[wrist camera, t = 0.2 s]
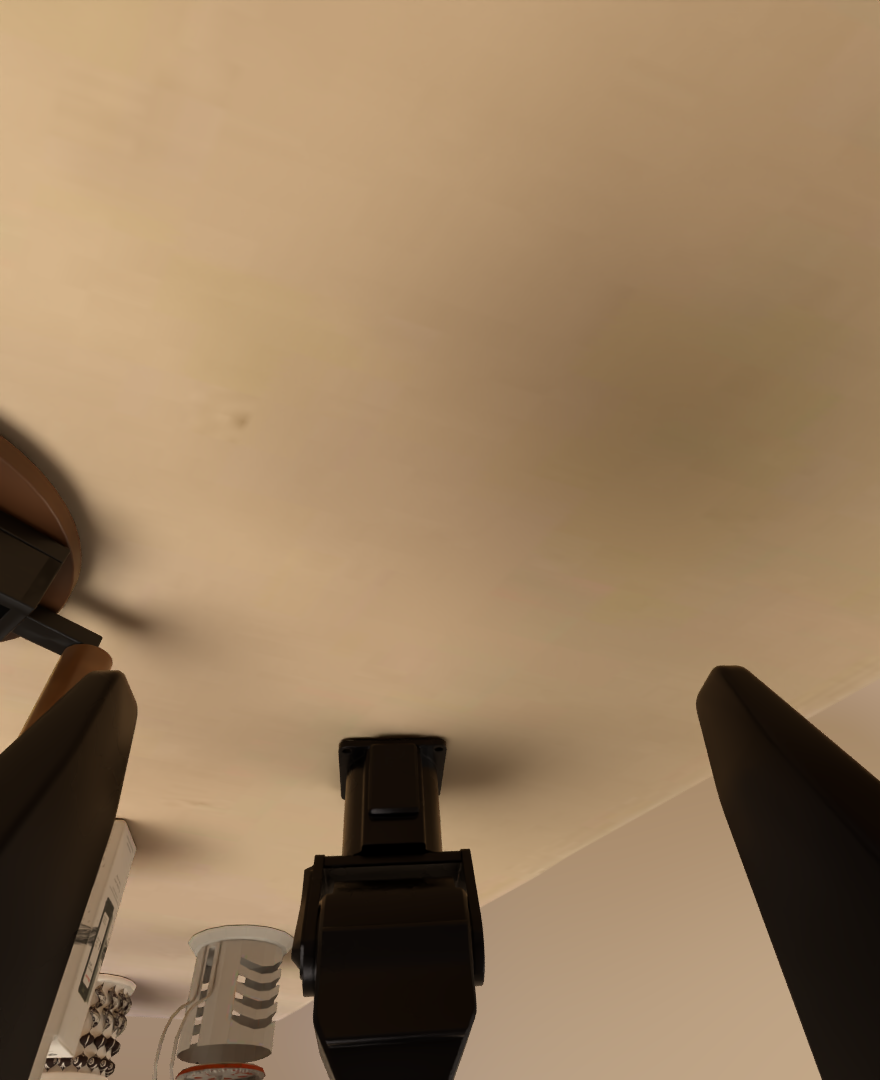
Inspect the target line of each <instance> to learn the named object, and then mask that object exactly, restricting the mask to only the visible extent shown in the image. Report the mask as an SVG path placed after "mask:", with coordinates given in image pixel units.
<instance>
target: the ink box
mask: <svg viewBox="0 0 880 1080" xmlns="http://www.w3.org/2000/svg"><path fill="white" fill-rule="evenodd" d="M135 852H136V846H135V844H134V841H133V839H132V836H131V834H130V831H129V829H128V826H127V824H126V822H125V821H124V820H115V821H114V824H113V828H112V831H111V834H110V837H109V840H108V843H107V846H106V849H105V852H104V855H103V858H102V861H101V864H100V867H99V870H98V873H97V876H96V879H95V882H94V885H93V888H92V891H91V894H90V897H89V900H88V903H87V906H86V909H85V912H84V915H83V918H82V921H81V924H80V927H79V930H78V933H77V936H76V939H75V942H74V945H73V948H72V951H71V954H70V957H69V960H68V963H67V966H66V969H65V972H64V975H63V978H62V981H61V984H60V987H59V990H58V993H57V996H56V999H55V1002H54V1005H53V1008H52V1011H51V1014H50V1017H49V1020H48V1022H47V1025H46V1028H45V1031H44V1034H43V1037H42V1040H41V1043H40V1046H39V1049H38V1052H37V1055H36V1058H35V1061H34V1064H33V1067H32V1070H31V1073H30V1076H29V1079H28V1080H40V1079H41V1075H42V1072H43V1069H44V1065H45V1062H46V1058H64V1057H74V1055H75V1052H76V1049H77V1045H78V1042H79V1039H80V1036H81V1032H82V1029H83V1026H84V1023H85V1019H86V1016H87V1013H88V1009H89V1006H90V1003H91V999H92V996H93V993H94V989H95V986H96V983H97V979H98V976H99V973H100V969H101V966H102V963H103V959H104V956H105V953H106V949H107V946H108V943H109V939H110V936H111V932H112V929H113V926H114V922H115V919H116V916H117V912H118V909H119V905H120V902H121V899H122V895H123V892H124V888H125V885H126V882H127V879H128V875H129V872H130V868H131V865H132V862H133V859H134V855H135Z"/></svg>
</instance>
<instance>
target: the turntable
mask: <svg viewBox="0 0 880 1080" xmlns="http://www.w3.org/2000/svg"><path fill="white" fill-rule="evenodd" d="M0 510H1V511H3V512H5V513H7V514H8V515H10V516H12V517H14V518H15V519H17V520H19V521H21V522H22V523H24V524H26V525H28V526H29V527H31V528H33V529H35V530H36V531H38V532H40V533H42V534H44V535H45V536H47V537H49V538H51V539H52V540H54V541H56V542H58V543H59V544H61V545H63V546H65V547H66V548H68V549H70V550H71V551H70V553H69V555H68V557H67V558H66V560H65V561H64V563H63V564H62V566H61V568H60V570H59V571H58V573H57V575H56V576H55V578H54V579H53V581H52V583H51V584H50V586H49V588H48V589H47V591H46V592H45V594H44V596H43V597H42V599H41V601H40V602H39V604H38V605H40V606H42V607H44V608H46V609H48V610H50V611H52V612H54V613H56V614H57V613H58V612H59V611H60V610H61V609H62V608H63V607H64V605H65V603H66V601H67V600H68V598H69V596H70V594H71V593H72V591H73V589H74V587H75V585H76V583H77V581H78V577H79V574H80V571H81V559H82V553H81V545H80V538H79V535H78V532H77V529H76V525H75V522H74V520H73V518H72V516H71V514H70V512H69V510H68V508H67V506H66V504H65V503H64V501H63V500H62V498H61V497H60V495H59V494H58V492H57V491H56V489H55V488H54V486H53V485H52V484H51V483H50V482H49V480H48V479H47V478H46V477H45V476H44V475H43V473H42V472H41V471H40V470H39V469H38V468H37V467H36V466H35V465H34V464H33V463H32V462H31V461H30V460H29V459H28V458H27V457H26V456H25V455H24V454H23V453H22V452H21V451H20V450H18V449H17V448H16V447H15V446H13V445H12V444H11V443H10V442H8V441H7V440H6V439H5V438H4V437H2V436H1V435H0ZM18 637H20V636H18V635H16V634H14V633H12V632H11V633H9V634H8V635H7V636H6V637H5V638H4V639H3V640H2V641H1V642H3V641H7V640H11V639H15V638H18Z"/></svg>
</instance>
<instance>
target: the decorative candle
mask: <svg viewBox="0 0 880 1080" xmlns="http://www.w3.org/2000/svg"><path fill="white" fill-rule="evenodd" d="M135 988H136V985H135V984H134V982H133V981H131V980H129V979H126V978H124V977H120V976H114V975H109V974H99V976H98V979H97V983H96V986H95V989H94V993H93V996H92V999H91V1003H90V1006H89V1009H88V1013H87V1016H86V1019H85V1023H84V1026H83V1029H82V1032H81V1036H80V1039H79V1042H78V1045H77V1049H76V1052H75V1055H74V1057H64V1058H46V1062H45V1065H44V1069H43V1072H42V1075H41V1079H40V1080H108V1078H106V1077H108V1076H110V1075H111V1074H112V1073H113V1072H114V1069H115V1064H114V1063H113V1062H112V1061H111V1060H110V1059H111V1057H112V1056H114V1055H115V1054H117V1053H118V1052H119V1049H120V1043H119V1042H117V1041H116V1038H117V1037H118V1036H119V1035H120V1034H121V1033H122V1032H123V1031H124V1030H125V1027H126V1025H127V1020H126V1017H125V1015H126V1014H127V1013H128V1012H129V1010H130V1008H131V1005H132V1002H131V999H130V997H129V996H131V995H132V994H133V992H134V990H135Z"/></svg>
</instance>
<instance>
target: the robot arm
mask: <svg viewBox="0 0 880 1080" xmlns="http://www.w3.org/2000/svg"><path fill="white" fill-rule="evenodd" d="M696 709H697V714H698V718H699V721H700V725H701V729H702V733H703V737H704V741H705V745H706V749H707V753H708V757H709V761H710V765H711V769H712V773H713V777H714V781H715V784H716V788H717V792H718V795H719V799H720V802H721V805H722V808H723V811H724V814H725V817H726V820H727V822H728V825H729V828H730V830H731V833H732V836H733V838H734V841H735V844H736V847H737V849H738V852H739V855H740V858H741V860H742V863H743V866H744V869H745V871H746V874H747V877H748V879H749V882H750V885H751V888H752V890H753V893H754V896H755V898H756V901H757V903H758V907H759V909H760V912H761V915H762V918H763V920H764V923H765V926H766V928H767V931H768V934H769V937H770V939H771V942H772V945H773V948H774V950H775V953H776V955H777V958H778V961H779V964H780V967H781V969H782V972H783V975H784V977H785V980H786V983H787V986H788V988H789V991H790V994H791V996H792V999H793V1002H794V1005H795V1007H796V1010H797V1013H798V1015H799V1018H800V1021H801V1024H802V1026H803V1029H804V1032H805V1035H806V1037H807V1040H808V1043H809V1046H810V1048H811V1051H812V1053H813V1056H814V1059H815V1062H816V1065H817V1067H818V1070H819V1073H820V1075H821V1078H822V1080H880V781H879V780H878V779H877V778H875V777H874V776H873V775H872V774H871V773H869V772H868V771H867V770H866V769H865V768H864V767H862V766H861V765H860V764H859V763H858V762H857V761H855V760H854V759H853V758H852V757H851V756H849V755H848V754H847V753H846V752H845V751H843V750H842V749H841V748H840V747H839V746H838V745H836V744H835V743H834V742H833V741H832V740H830V739H829V738H828V737H827V736H826V735H824V734H823V733H822V732H821V731H820V730H818V729H817V728H816V727H815V726H814V725H813V724H811V723H810V722H809V721H808V720H807V719H805V718H804V717H803V716H802V715H801V714H799V713H798V712H797V711H796V710H795V709H794V708H792V707H791V706H790V705H789V704H788V703H786V702H785V701H784V700H783V699H782V698H780V697H779V696H778V695H777V694H776V693H775V692H773V691H772V690H771V689H770V688H769V687H767V686H766V685H765V684H764V683H763V682H761V681H760V680H759V679H758V678H757V677H755V676H754V675H753V674H752V673H751V672H750V671H748V670H747V669H745V668H744V667H741V666H737V665H732V666H717V667H715V668H714V669H713V670H712V671H711V673H710V674H709V676H708V678H707V680H706V681H705V683H704V685H703V687H702V688H701V690H700V692H699V694H698V696H697V700H696ZM136 720H137V704H136V701H135V698H134V696H133V693H132V691H131V689H130V686H129V684H128V681H127V679H126V677H125V675H124V674H123V673H122V672H121V671H118V670H99V671H92V672H90V673H88V674H87V675H85V676H84V677H83V678H82V679H81V680H80V681H79V682H78V683H77V684H76V685H74V686H73V687H72V688H71V689H70V690H69V691H68V692H67V693H66V694H65V695H64V696H63V697H62V698H60V699H59V700H58V701H57V702H56V703H55V704H54V705H53V706H52V707H51V708H50V709H49V710H48V711H46V712H45V713H44V714H43V715H42V716H41V717H40V718H39V719H38V720H37V721H36V722H35V723H34V724H32V725H31V726H30V727H29V728H28V729H27V730H26V731H25V732H24V733H23V734H22V735H21V736H20V737H18V738H17V739H16V740H15V741H14V742H13V743H12V744H11V745H10V746H9V747H8V748H7V749H5V750H4V751H3V752H2V753H1V754H0V1080H28V1079H29V1076H30V1073H31V1070H32V1067H33V1064H34V1061H35V1058H36V1055H37V1052H38V1049H39V1046H40V1043H41V1040H42V1037H43V1034H44V1031H45V1028H46V1025H47V1022H48V1020H49V1017H50V1014H51V1011H52V1008H53V1005H54V1002H55V999H56V996H57V993H58V990H59V987H60V984H61V981H62V978H63V975H64V972H65V969H66V966H67V963H68V960H69V957H70V954H71V951H72V948H73V945H74V942H75V939H76V936H77V933H78V930H79V927H80V924H81V921H82V918H83V915H84V912H85V909H86V906H87V903H88V900H89V897H90V894H91V891H92V888H93V885H94V882H95V879H96V876H97V873H98V870H99V867H100V864H101V861H102V858H103V855H104V852H105V849H106V846H107V843H108V840H109V837H110V834H111V831H112V828H113V824H114V821H115V817H116V813H117V809H118V804H119V800H120V795H121V790H122V786H123V781H124V776H125V772H126V767H127V763H128V758H129V753H130V749H131V744H132V739H133V735H134V730H135V725H136ZM446 750H447V749H446V741H445V740H442V739H409V740H360V741H343V742H341V743H340V744H339V767H340V783H341V797H342V799H344V800H345V811H344V829H343V847H342V856H325V855H315V859H314V865H313V866H312V867H309V868H307V869H305V870H304V881H303V891H302V899H301V906H300V911H299V916H298V921H297V925H296V930H295V935H294V940H293V945H292V953H291V959H292V960H293V962H294V963H295V964H296V965H297V967H298V968H299V969H300V979H301V980H302V986H303V996H304V997H311V996H314V1010H313V1023H314V1028H315V1033H316V1038H317V1042H318V1048H319V1053H320V1056H321V1058H322V1061H323V1063H324V1066H325V1068H326V1071H327V1073H328V1076H329V1078H330V1080H454V1077H455V1074H456V1072H457V1069H458V1066H459V1063H460V1060H461V1057H462V1055H463V1052H464V1049H465V1046H466V1043H467V1040H468V1037H469V1034H470V1031H471V1028H472V1025H473V1022H474V1019H475V1015H476V993H475V986H482V985H483V982H484V972H485V957H484V956H485V955H484V938H483V928H482V920H481V913H480V907H479V901H478V895H477V889H476V883H475V876H474V870H473V864H472V858H471V852H470V849H460V851H445V852H442V839H441V825H440V810H439V795H440V790H441V783H442V776H443V770H444V763H445V756H446Z"/></svg>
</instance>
